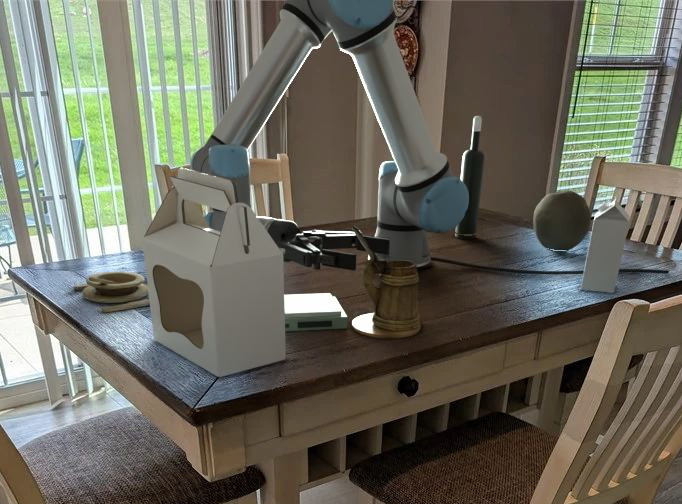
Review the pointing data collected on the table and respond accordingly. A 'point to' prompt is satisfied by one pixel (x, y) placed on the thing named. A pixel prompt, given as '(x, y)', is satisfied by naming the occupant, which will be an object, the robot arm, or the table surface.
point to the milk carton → (605, 248)
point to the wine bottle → (472, 182)
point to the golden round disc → (368, 328)
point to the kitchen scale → (313, 312)
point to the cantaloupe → (561, 220)
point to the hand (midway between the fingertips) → (372, 254)
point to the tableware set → (115, 290)
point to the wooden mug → (391, 290)
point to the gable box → (214, 279)
